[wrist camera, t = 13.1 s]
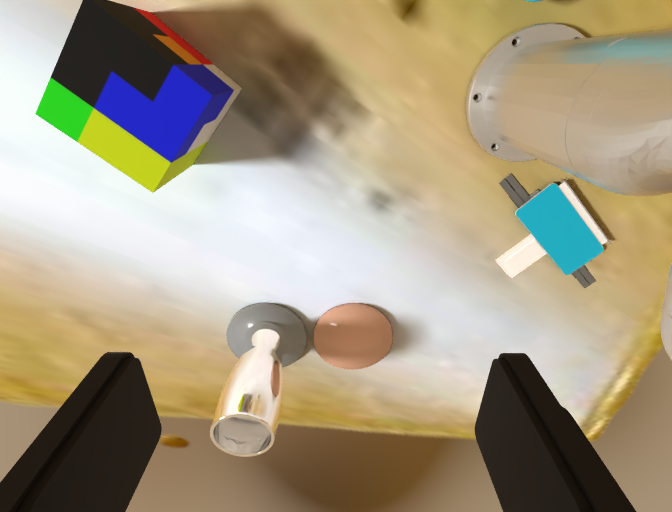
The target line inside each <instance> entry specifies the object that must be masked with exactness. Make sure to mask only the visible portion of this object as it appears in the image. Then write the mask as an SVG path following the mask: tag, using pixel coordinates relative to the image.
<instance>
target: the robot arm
mask: <svg viewBox="0 0 672 512" xmlns="http://www.w3.org/2000/svg"><path fill="white" fill-rule="evenodd" d="M513 39H514V40H515V44H514V45H512V41H513ZM475 94H476V95H477V98H476V99H475V100H474V99H473V97H474V95H475ZM466 116H467V123H468V126H469V129H470V131H471V134H472V136H473V137H474V139H475V140H476V142H477V143H478V144H479V145H480V146H481V147H482V148H483V149H484V150H485V151H486V152H488V153H490V154H491V155H493V156H495V157H498V158H500V159H502V160H507V161H512V162H524V161H529V160H535V159H539V160H542V161H544V162H546V163H548V164H550V165H552V166H555V167H557V168H559V169H561V170H563V171H565V172H567V173H570V174H572V175H574V176H576V177H578V178H580V179H583V180H585V181H587V182H589V183H592V184H594V185H596V186H599V187H601V188H603V189H605V190H608V191H611V192H614V193H617V194H622V195H627V196H656V195H662V194H668V193H672V28H670V29H663V30H656V31H647V32H638V33H628V34H619V35H610V36H601V37H591V38H586V37H585V36H584V35H583V34H581V33H580V32H578V31H577V30H576V29H574V28H572V27H569V26H566V25H564V24H557V23H543V24H535V25H531V26H527V27H524V28H522V29H520V30H517V31H515V32H513V33H511V34H510V35H508V36H507V37H505V38H504V39H502V40H501V41H500V42H498V43H497V44H496V45H495V46H494V47H493V48H492V49H491V50H490V51H489V52H488V53H487V55H486V56H485V57H484V58H483V60H482V61H481V62H480V64H479V66H478V68H477V69H476V71H475V73H474V75H473V77H472V80H471V83H470V85H469V89H468V94H467V99H466ZM493 144H494V147H493V148H491V146H492V145H493ZM660 327H661V337H662V341H663V345H664V347H665V349H666V352H667V353H668V355H669V357H670V359H671V360H672V262H671V267H670V272H669V277H668V281H667V286H666V291H665V296H664V301H663V306H662V314H661V323H660ZM160 435H161V423H160V420H159V417H158V414H157V411H156V408H155V405H154V402H153V399H152V396H151V392H150V389H149V386H148V383H147V380H146V377H145V374H144V371H143V368H142V365H141V362H140V360H139V359H138V358H135V357H134V355H133V354H132V353H130V352H107V353H105V354H104V355H103V356H102V357H101V358H100V359H99V360H98V362H97V363H96V364H95V365H94V367H93V368H92V369H91V370H90V372H89V373H88V374H87V375H86V377H85V378H84V379H83V380H82V382H81V383H80V384H79V385H78V387H77V388H76V389H75V390H74V392H73V393H72V394H71V395H70V397H69V398H68V399H67V400H66V401H65V403H64V404H63V405H62V406H61V408H60V409H59V410H58V411H57V413H56V414H55V415H54V416H53V418H52V419H51V420H50V421H49V423H48V424H47V425H46V426H45V428H44V429H43V430H42V431H41V433H40V434H39V435H38V436H37V438H36V439H35V440H34V441H33V443H32V444H31V445H30V446H29V448H28V449H27V450H26V451H25V453H24V454H23V455H22V456H21V458H20V459H19V460H18V461H17V462H16V464H15V465H14V466H13V467H12V469H11V470H10V471H9V472H8V474H7V475H6V476H5V477H4V479H3V480H2V481H1V482H0V512H125V511H126V509H127V507H128V505H129V502H130V500H131V498H132V496H133V494H134V492H135V490H136V488H137V486H138V483H139V481H140V479H141V477H142V475H143V473H144V471H145V469H146V467H147V465H148V462H149V460H150V458H151V456H152V454H153V452H154V450H155V448H156V445H157V443H158V441H159V439H160ZM475 436H476V440H477V443H478V445H479V448H480V451H481V453H482V456H483V459H484V461H485V464H486V467H487V469H488V472H489V475H490V477H491V480H492V483H493V485H494V488H495V491H496V493H497V496H498V498H499V501H500V504H501V507H502V509H503V512H636V511H635V509H634V508H633V506H632V505H631V503H630V502H629V500H628V499H627V498H626V496H625V494H624V493H623V491H622V490H621V488H620V487H619V485H618V484H617V482H616V481H615V479H614V478H613V476H612V475H611V473H610V472H609V470H608V469H607V467H606V466H605V464H604V463H603V462H602V460H601V458H600V457H599V455H598V454H597V452H596V451H595V450H594V448H593V447H592V445H591V444H590V442H589V441H588V439H587V438H586V436H585V435H584V433H583V432H582V430H581V429H580V427H579V426H578V424H577V423H576V421H575V420H574V418H573V417H572V415H571V414H570V413H569V412H568V411H567V410H566V409H565V408H563V407H562V406H561V405H560V404H559V402H558V401H557V399H556V398H555V396H554V395H553V393H552V392H551V390H550V389H549V387H548V386H547V384H546V383H545V381H544V379H543V378H542V376H541V375H540V373H539V372H538V370H537V369H536V367H535V366H534V364H533V363H532V361H531V360H530V358H529V357H528V356H527V355H526V354H524V353H502V354H500V356H499V358H498V359H494V360H493V362H492V365H491V369H490V373H489V376H488V380H487V384H486V387H485V391H484V395H483V398H482V402H481V406H480V409H479V413H478V417H477V420H476V424H475Z"/></svg>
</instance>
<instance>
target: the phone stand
mask: <svg viewBox="0 0 672 512" xmlns="http://www.w3.org/2000/svg"><path fill="white" fill-rule="evenodd" d="M506 179H507V181H508V182H509V183H510V184H511V186H512V187H513V188H514V189H515V191H514V190H513V189H512V187H511V186H510V185H509V184H508V182H507V181H506V180H505V179H504V180H502V181H501V182H500V183H499V184H500V185H501V186H502V187H503V189H504V190H505V191H506V192H507V194H508V195H509V197H510V198H511V199H512V201H513V202H514V203H515V204H516V206H517V207H518V208H519V209H517V210H516V212H515V215H516V216H517V217H518V218H519V220H520V221H521V222H522V223H523V225H524V226H525V227H526V228H527V229H528V231H529V232H530V233H531V234H530V235H529V236H527V237H526V238H525V239H523V240H522V241H521V242H519V243H518V244H517V245H515V246H514V247H512V248H511V249H510V250H508V251H507V252H506V253H504V254H503V255H502V256H500V257H499V258H497V259H496V260H495V261H496V262H497V263H498V264H499V265H500V267H501V268H502V269H503V270H504V271H505V272H506V273H507V274H508V275H509V276H510V277H511V278H513V277H514V276H516V275H517V274H518V273H520V272H521V271H523V270H524V269H526V268H527V267H528V266H530V265H531V264H533V263H534V262H535V261H537V260H538V259H540V258H541V257H542V256H544V255H545V254H548V255H549V256H550V257H551V258H552V260H553V261H554V262H555V263H556V264H557V266H558V267H559V268H560V269H561V271H562V272H563V273H564V274H565V275H569V274H571V273H572V274H573V276H574V277H575V278H577V280H578V281H579V282H580V283H581V285H582V286H583V287H584V288H586V287H588V286H589V283H590V285H591V284H592V283H594V282H595V280H594V278H593V277H592V276H591V275H590V273H589V272H588V270H587V269H586V267H585V266H584V264H586V263H587V262H589V261H590V260H592V259H593V258H595V257H596V256H598V255H599V254H601V253H602V252H603V251H604V247H603V246H602V245H603V244H604V243H606V242H609V243H610V241H609V239H607V237H606V236H605V234H604V233H603V232H602V230H601V229H600V227H599V225H597V223H596V222H595V221H596V220H595V221H594V219H593V218H592V216H591V215H590V214H589V212H588V211H587V209H586V208H585V207H584V205H583V204H582V203H581V201H582V200H581V201H580V200H579V198H578V197H577V196H578V195H577V196H576V194H575V193H574V192H573V191H574V190H572V189H571V187H570V185H568V183H567V182H565V180H564V179H563V180H562V181H563V183H562V184H560V185H559V186H558V185H557V184H556V183H551V184H550V185H548V186H547V187H546V188H544V189H543V190H542V191H539V190H536V191H535V192H534V193H532V194H531V195H530V196H529V195H528V194H527V192H526V191H525V190H524V189H523V187H522V186H520V184H519V183H518V182H517V181H516V179H515V178H514V177H513V175H512V174H510V175H509V176H507V177H506ZM567 180H568V179H567ZM571 185H572V184H571ZM603 230H605V229H603ZM606 235H607V234H606ZM610 244H611V243H610ZM582 275H583V276H584V277H585V278H586V280H587V281H588V282H589V283H588V282H587V281H586V280H585V278H584V277H583V276H582Z"/></svg>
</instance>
